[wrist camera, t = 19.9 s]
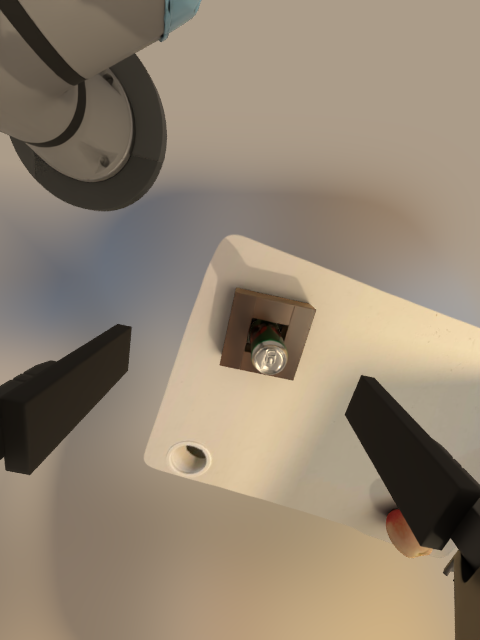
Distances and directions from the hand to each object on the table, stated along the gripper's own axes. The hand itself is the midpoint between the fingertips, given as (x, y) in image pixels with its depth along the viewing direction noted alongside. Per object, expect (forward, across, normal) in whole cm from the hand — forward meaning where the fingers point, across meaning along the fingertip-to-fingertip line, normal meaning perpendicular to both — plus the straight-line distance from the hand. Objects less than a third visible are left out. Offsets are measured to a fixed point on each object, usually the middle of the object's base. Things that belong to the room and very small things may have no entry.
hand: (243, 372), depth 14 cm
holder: (+29, +5, -7) cm, 30 cm away
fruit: (+29, +46, -44) cm, 70 cm away
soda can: (+29, +5, -7) cm, 30 cm away
